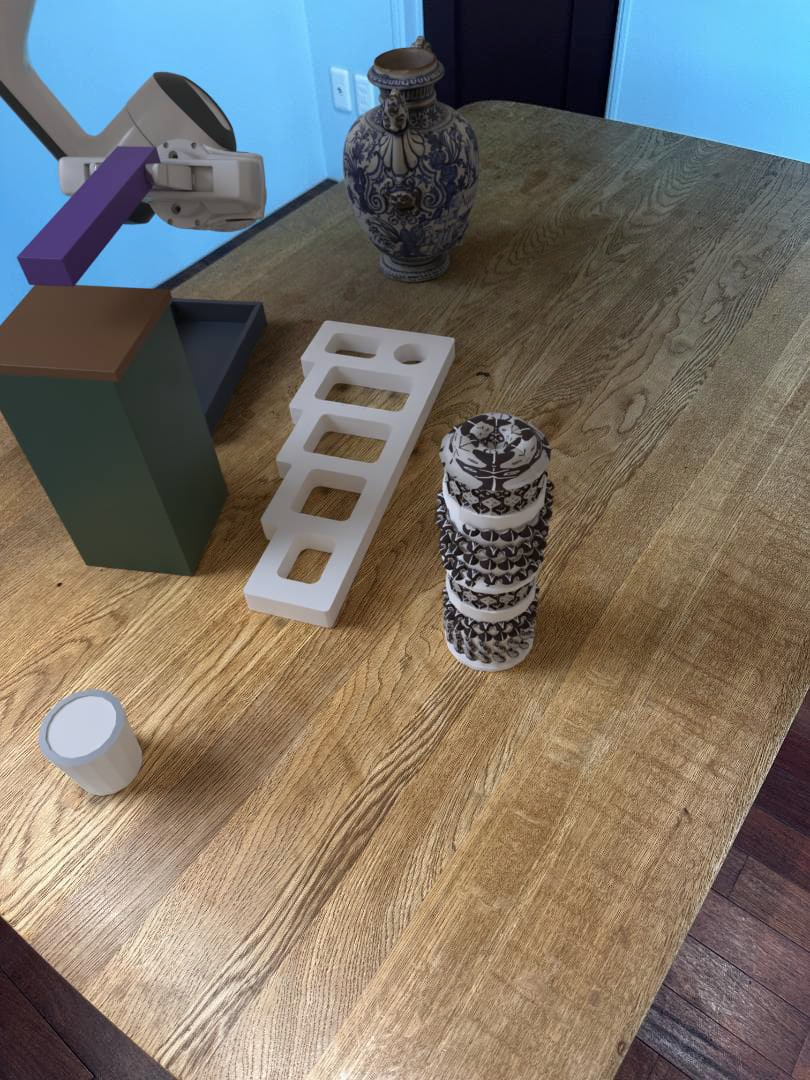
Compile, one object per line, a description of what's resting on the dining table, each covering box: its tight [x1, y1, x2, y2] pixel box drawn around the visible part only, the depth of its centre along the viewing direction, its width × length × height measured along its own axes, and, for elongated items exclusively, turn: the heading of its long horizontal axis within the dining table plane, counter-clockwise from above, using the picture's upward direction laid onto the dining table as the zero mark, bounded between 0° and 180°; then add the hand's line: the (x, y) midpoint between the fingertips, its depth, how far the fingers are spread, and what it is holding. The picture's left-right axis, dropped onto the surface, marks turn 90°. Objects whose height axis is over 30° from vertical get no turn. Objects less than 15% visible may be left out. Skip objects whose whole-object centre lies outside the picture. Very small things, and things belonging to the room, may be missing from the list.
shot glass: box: [37, 688, 143, 797], centre depth 68 cm, size 7×7×7 cm
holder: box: [242, 320, 456, 629], centre depth 93 cm, size 45×18×3 cm, turn 162°
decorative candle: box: [435, 411, 555, 673], centre depth 68 cm, size 9×9×25 cm
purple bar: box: [16, 146, 161, 287], centre depth 71 cm, size 4×20×2 cm, turn 170°
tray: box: [169, 297, 268, 438], centre depth 105 cm, size 14×26×4 cm, turn 170°
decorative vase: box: [342, 35, 480, 283], centre depth 111 cm, size 21×19×28 cm
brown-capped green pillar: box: [0, 284, 230, 577], centre depth 79 cm, size 13×12×26 cm
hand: (124, 172), depth 75 cm, fingers closed on purple bar, 4 cm apart
